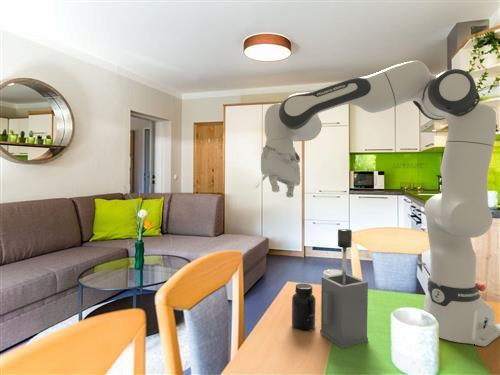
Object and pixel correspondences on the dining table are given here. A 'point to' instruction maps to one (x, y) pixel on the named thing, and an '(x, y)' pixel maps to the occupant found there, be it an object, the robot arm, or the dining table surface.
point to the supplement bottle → (303, 308)
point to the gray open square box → (344, 310)
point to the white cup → (332, 272)
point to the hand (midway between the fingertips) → (283, 194)
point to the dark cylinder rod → (344, 248)
